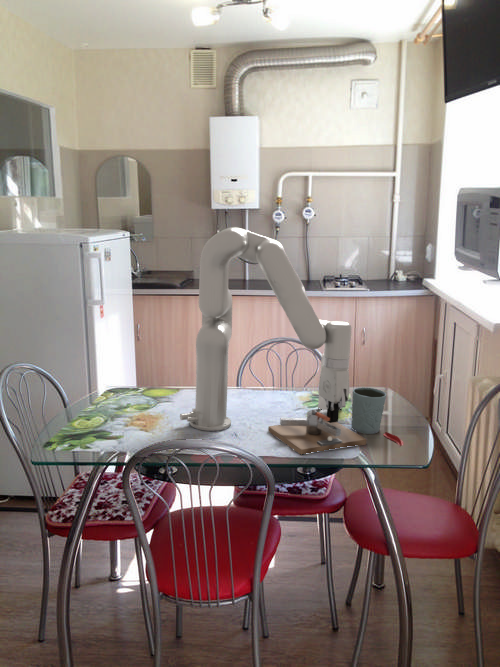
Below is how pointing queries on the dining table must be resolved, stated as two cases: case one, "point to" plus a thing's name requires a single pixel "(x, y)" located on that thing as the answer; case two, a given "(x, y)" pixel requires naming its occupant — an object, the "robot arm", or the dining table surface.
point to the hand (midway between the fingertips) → (332, 421)
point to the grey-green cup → (367, 409)
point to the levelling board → (314, 438)
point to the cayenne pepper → (393, 438)
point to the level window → (329, 442)
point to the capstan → (313, 423)
